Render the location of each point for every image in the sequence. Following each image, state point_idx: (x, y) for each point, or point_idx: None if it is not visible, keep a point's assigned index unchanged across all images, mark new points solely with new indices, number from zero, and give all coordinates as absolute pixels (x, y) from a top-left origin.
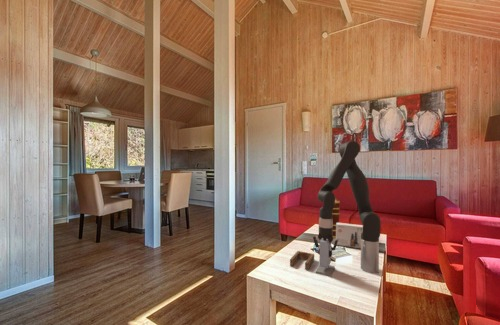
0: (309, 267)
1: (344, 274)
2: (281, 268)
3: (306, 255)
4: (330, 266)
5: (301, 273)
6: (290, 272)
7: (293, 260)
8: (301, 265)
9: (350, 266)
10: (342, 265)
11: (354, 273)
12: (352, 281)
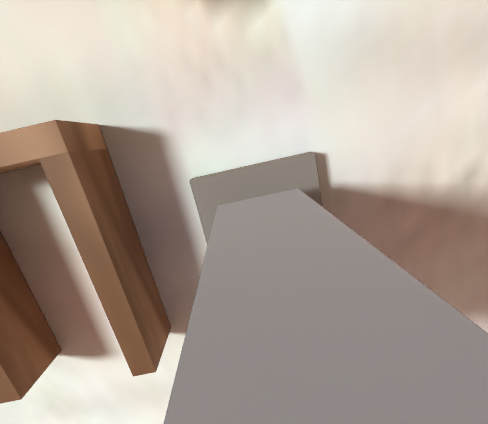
0: (155, 284)
1: (406, 213)
2: (33, 410)
3: (4, 168)
4: (289, 186)
5: (167, 384)
6: (110, 413)
7: (21, 363)
8: (91, 292)
9: (430, 4)
10: (357, 40)
11: (474, 141)
12: (468, 273)
